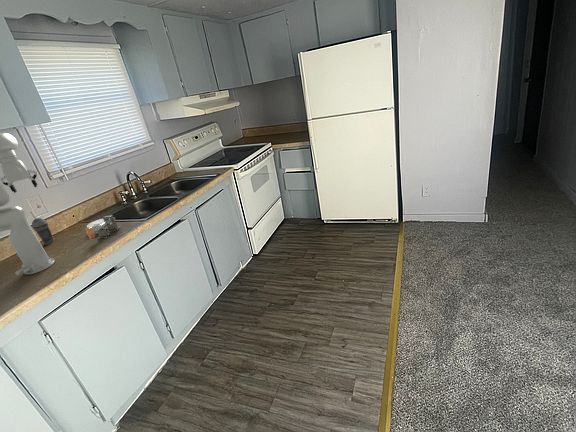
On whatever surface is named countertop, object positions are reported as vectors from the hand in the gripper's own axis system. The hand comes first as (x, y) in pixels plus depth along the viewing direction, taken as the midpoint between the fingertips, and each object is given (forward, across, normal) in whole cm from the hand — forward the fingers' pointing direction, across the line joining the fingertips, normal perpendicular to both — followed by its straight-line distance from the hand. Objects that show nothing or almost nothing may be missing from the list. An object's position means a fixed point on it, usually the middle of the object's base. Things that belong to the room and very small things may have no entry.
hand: (25, 189), depth 172 cm
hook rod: (+28, +30, -31) cm, 52 cm away
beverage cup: (+31, 0, -10) cm, 33 cm away
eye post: (+31, +34, -27) cm, 53 cm away
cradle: (+31, +28, -33) cm, 53 cm away
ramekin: (+32, +27, -18) cm, 45 cm away
